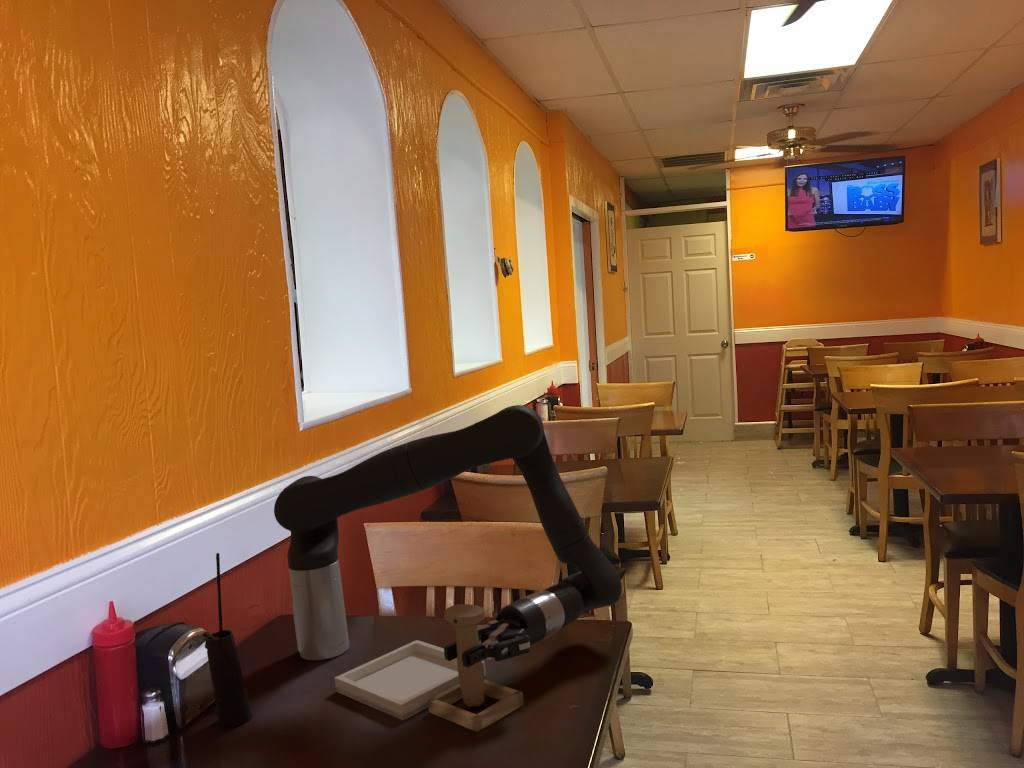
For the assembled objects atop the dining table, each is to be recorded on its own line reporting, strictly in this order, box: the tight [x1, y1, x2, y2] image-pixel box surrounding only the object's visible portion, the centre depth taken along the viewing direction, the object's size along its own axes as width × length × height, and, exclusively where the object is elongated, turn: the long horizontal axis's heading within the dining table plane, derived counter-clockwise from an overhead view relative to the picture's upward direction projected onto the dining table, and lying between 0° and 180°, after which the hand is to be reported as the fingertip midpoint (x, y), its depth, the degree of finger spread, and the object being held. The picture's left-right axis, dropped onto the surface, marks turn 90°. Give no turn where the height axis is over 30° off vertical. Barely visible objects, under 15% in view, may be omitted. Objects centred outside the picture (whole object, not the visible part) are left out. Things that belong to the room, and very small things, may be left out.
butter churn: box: [202, 552, 253, 729], centre depth 138 cm, size 9×10×28 cm
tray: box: [334, 639, 487, 721], centre depth 146 cm, size 18×18×2 cm
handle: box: [443, 603, 486, 708], centre depth 134 cm, size 5×6×15 cm
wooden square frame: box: [427, 678, 525, 733], centre depth 134 cm, size 11×10×2 cm
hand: (455, 657), depth 132 cm, fingers closed on handle, 3 cm apart
